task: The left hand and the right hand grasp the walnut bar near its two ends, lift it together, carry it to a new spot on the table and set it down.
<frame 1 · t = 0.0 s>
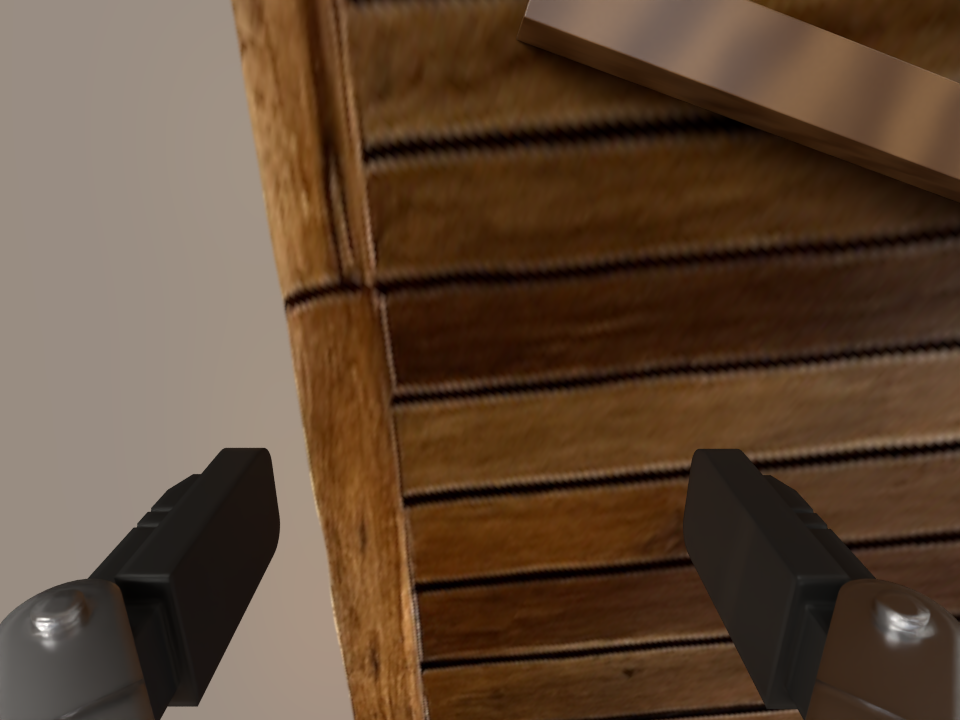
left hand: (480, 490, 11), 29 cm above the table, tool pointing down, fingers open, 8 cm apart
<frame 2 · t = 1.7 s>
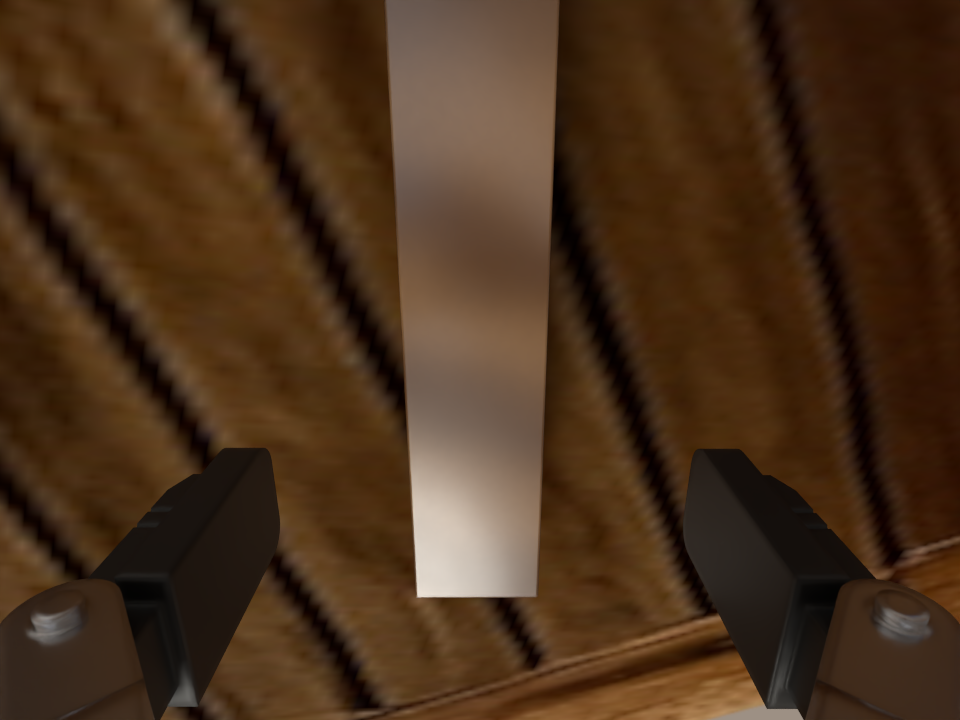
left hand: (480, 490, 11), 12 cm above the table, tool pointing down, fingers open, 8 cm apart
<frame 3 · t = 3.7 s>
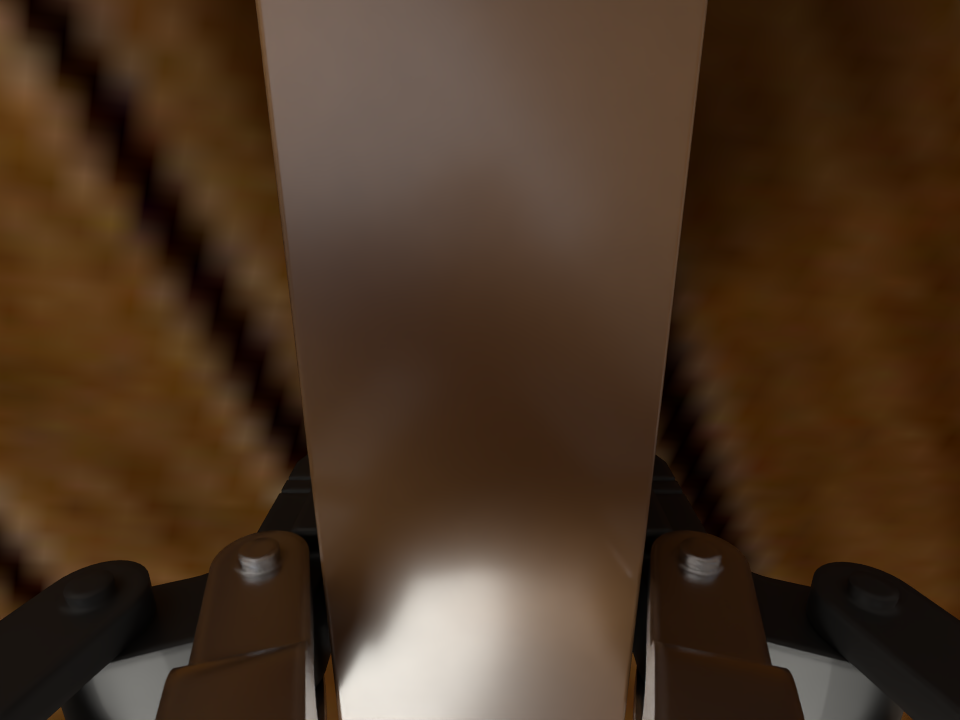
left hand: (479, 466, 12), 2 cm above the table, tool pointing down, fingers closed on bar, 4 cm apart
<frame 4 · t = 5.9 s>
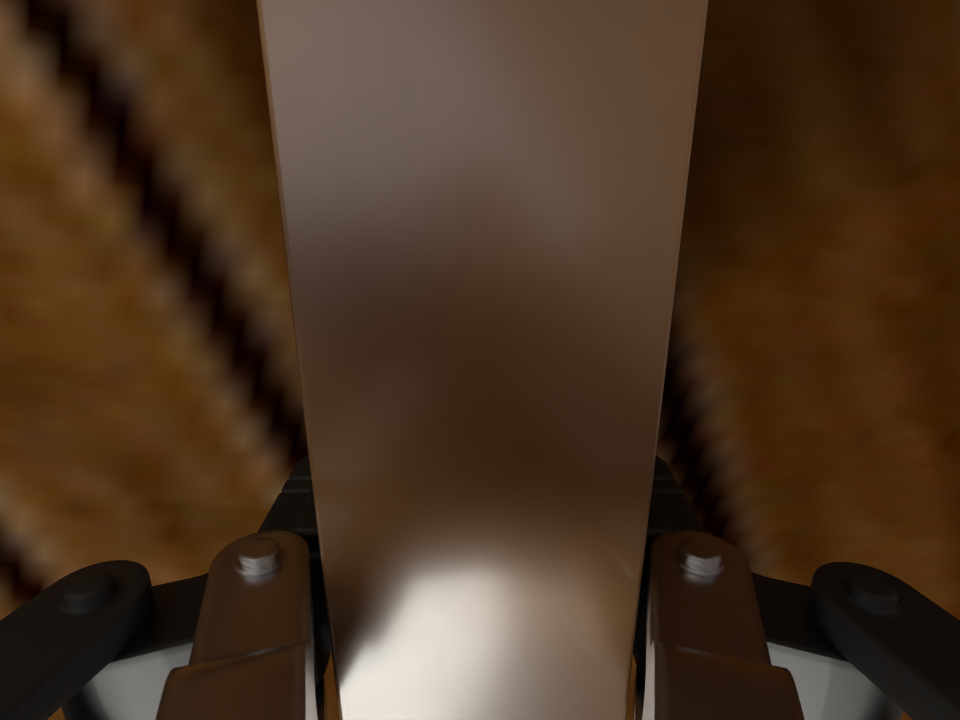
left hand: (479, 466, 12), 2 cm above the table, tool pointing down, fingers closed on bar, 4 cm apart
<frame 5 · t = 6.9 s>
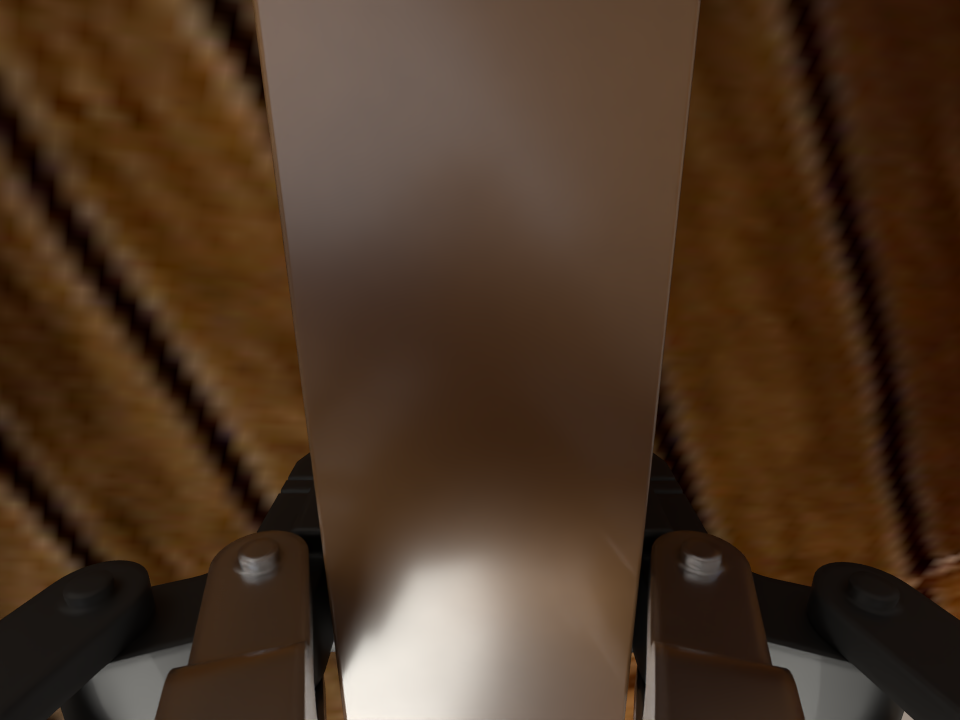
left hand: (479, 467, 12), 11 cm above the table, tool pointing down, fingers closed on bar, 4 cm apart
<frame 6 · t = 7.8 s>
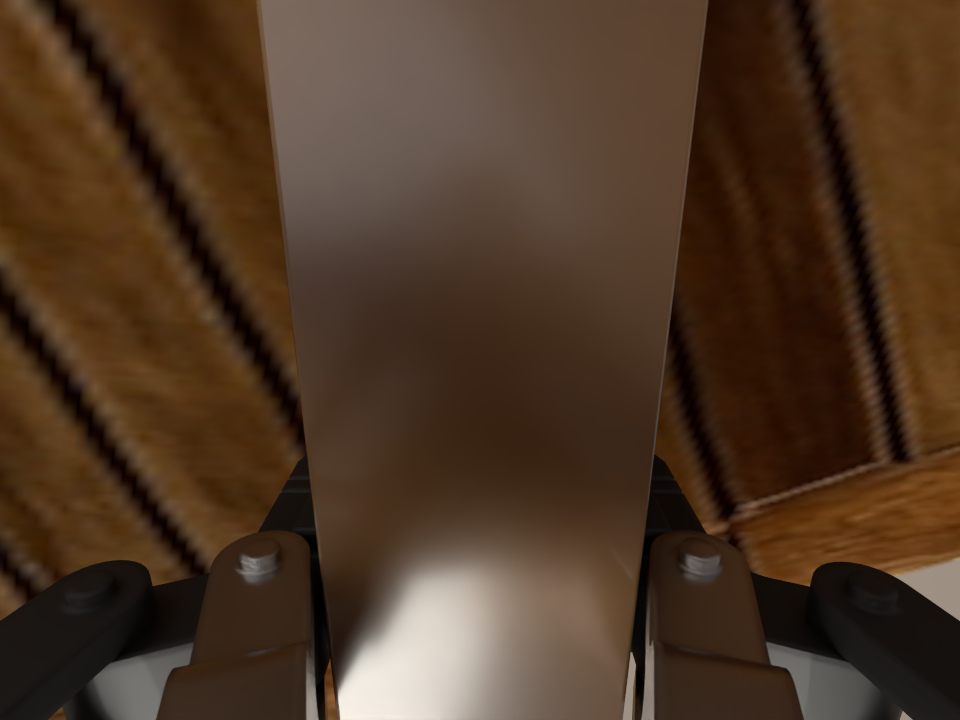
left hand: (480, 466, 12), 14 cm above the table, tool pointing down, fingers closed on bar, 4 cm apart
when the right hand's fingers open (4 cm above the table, at t = 10.1 s): bar drops 1 cm, on the table.
when the left hand's fingers open (3 cm above the table, at t = 10.2 s): bar drops 1 cm, on the table.
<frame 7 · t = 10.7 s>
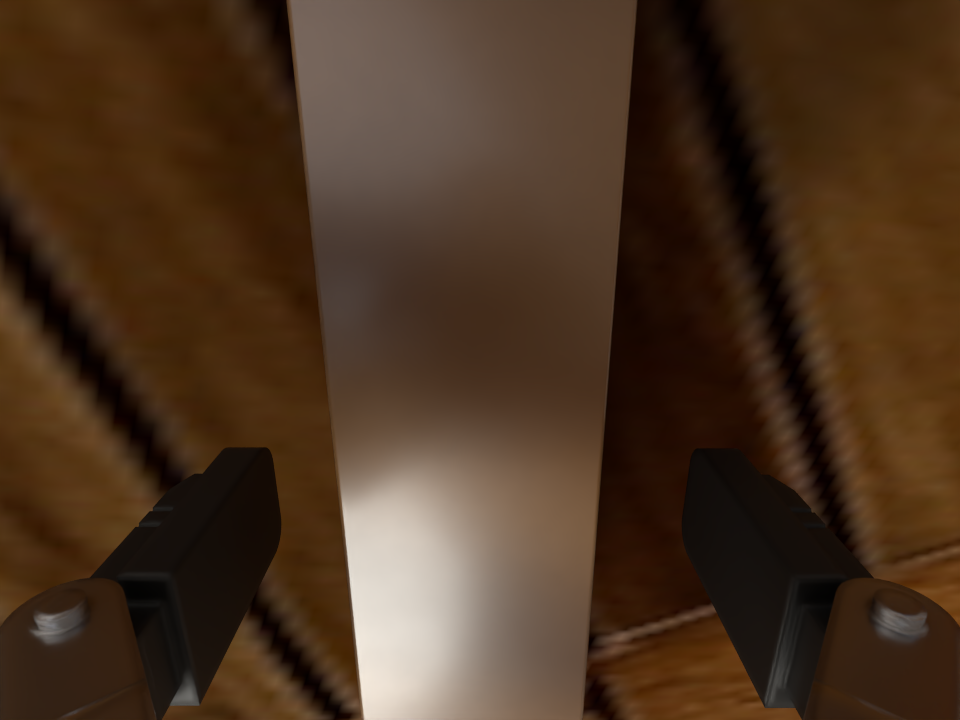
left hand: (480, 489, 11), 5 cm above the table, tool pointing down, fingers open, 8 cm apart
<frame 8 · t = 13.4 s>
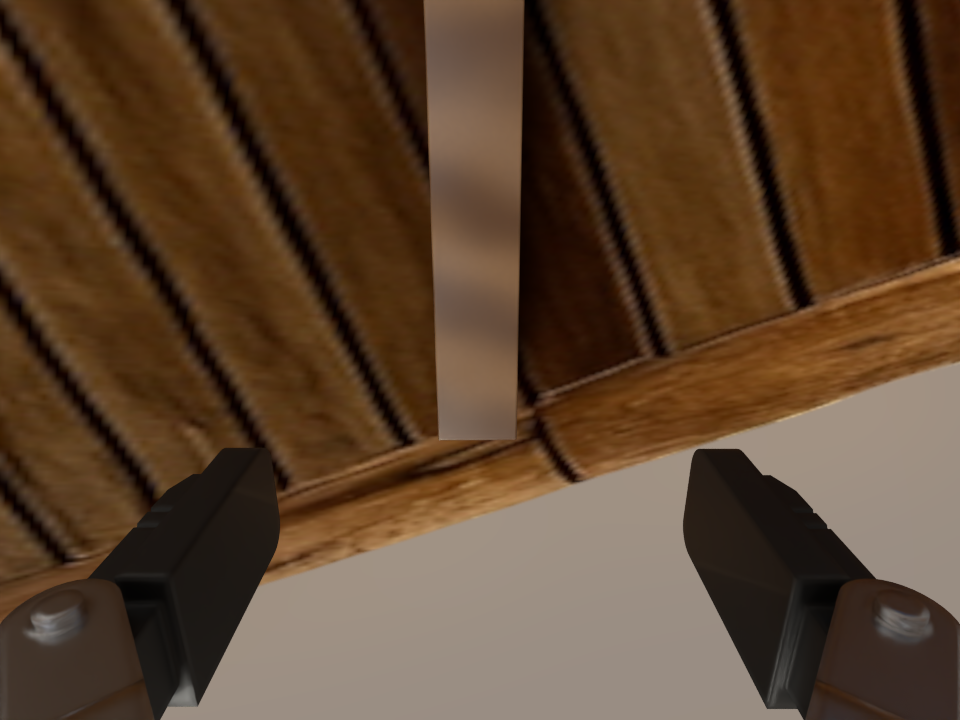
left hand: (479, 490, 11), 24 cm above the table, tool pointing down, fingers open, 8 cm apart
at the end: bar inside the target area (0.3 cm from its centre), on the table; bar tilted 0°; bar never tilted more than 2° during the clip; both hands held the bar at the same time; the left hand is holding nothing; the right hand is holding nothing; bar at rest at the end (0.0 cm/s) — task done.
